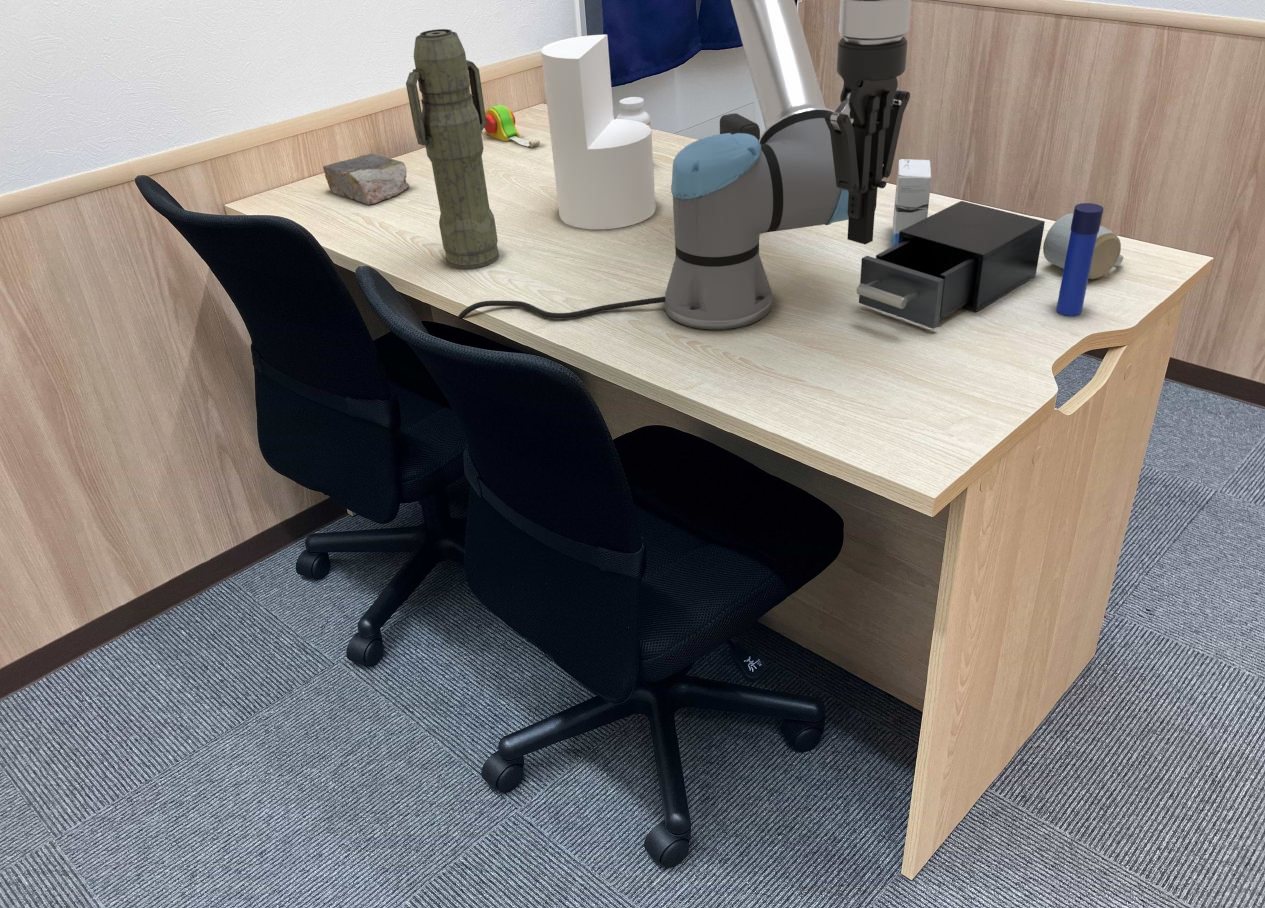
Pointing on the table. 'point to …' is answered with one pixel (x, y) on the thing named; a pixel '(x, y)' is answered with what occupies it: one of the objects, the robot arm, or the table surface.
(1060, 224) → the ceramic mug
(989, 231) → the drawer unit
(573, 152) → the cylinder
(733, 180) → the robot arm
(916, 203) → the ink box
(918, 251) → the drawer
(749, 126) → the card reader
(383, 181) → the geological specimen
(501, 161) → the table surface
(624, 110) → the supplement bottle
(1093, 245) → the marker
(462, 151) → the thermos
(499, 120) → the toy measuring tape
